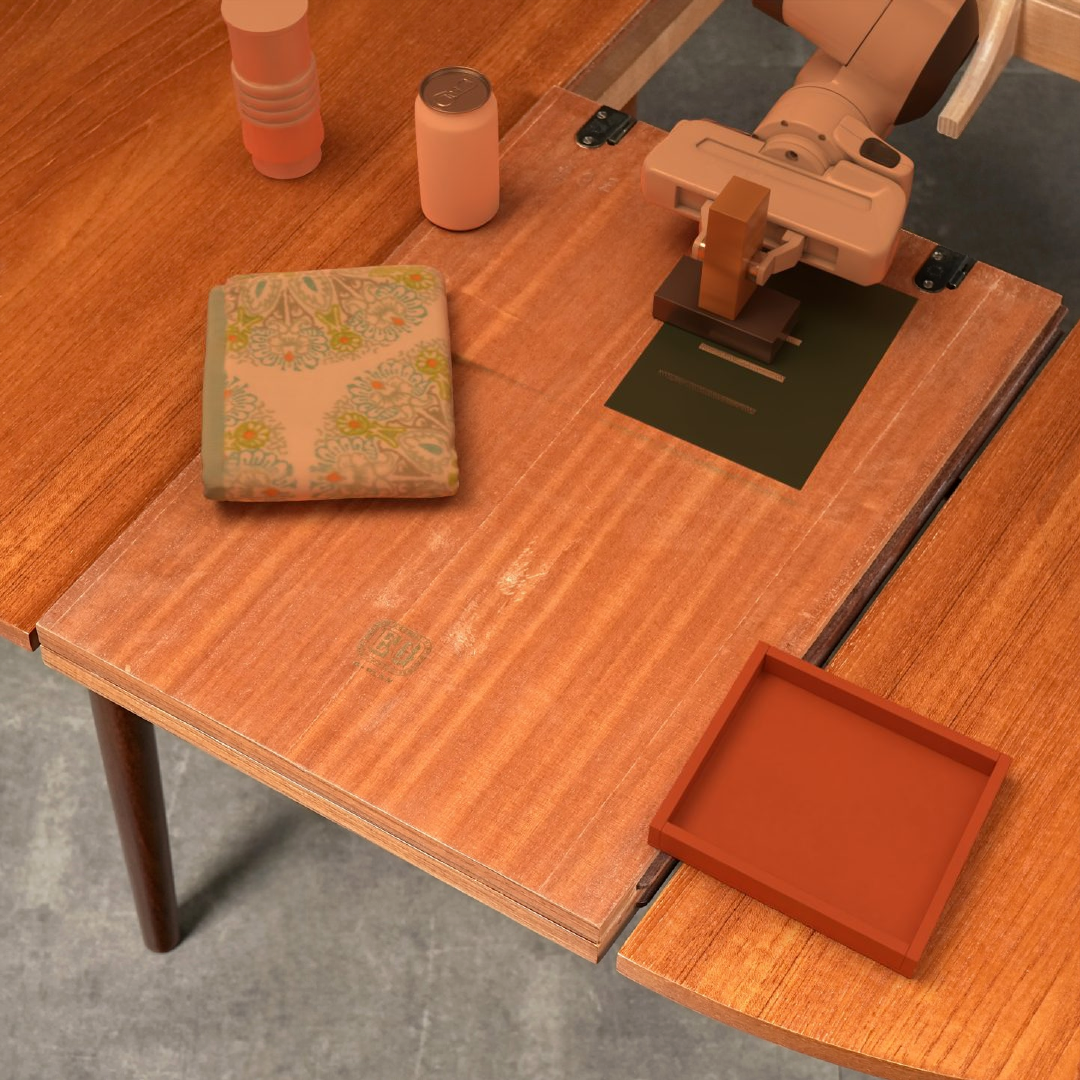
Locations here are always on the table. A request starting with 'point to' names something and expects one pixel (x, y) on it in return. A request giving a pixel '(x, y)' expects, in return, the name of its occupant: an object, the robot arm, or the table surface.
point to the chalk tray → (831, 806)
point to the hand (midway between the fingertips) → (727, 266)
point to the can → (457, 148)
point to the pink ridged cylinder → (275, 84)
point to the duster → (729, 280)
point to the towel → (329, 386)
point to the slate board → (769, 377)
